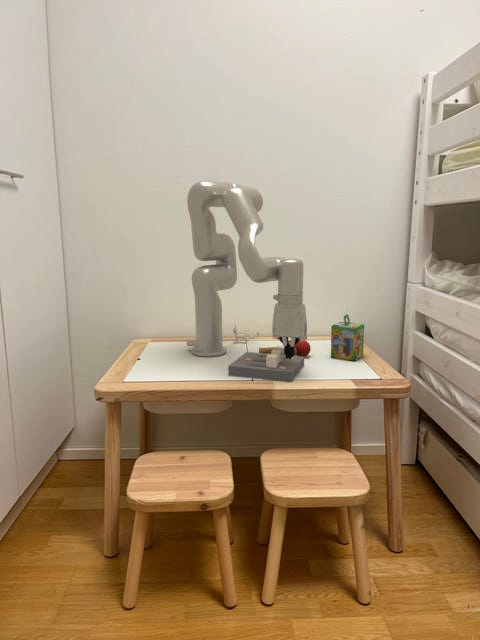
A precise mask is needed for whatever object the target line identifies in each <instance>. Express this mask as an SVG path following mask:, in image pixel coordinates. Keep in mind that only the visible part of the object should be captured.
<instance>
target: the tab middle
mask: <svg viewBox="0 0 480 640" xmlns="http://www.w3.org/2000/svg"><path fill="white" fill-rule="evenodd" d="M271 354H276V355H278V363H281V362H282V350H272V351H271Z"/></svg>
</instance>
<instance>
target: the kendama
mask: <svg viewBox="0 0 480 640" xmlns="http://www.w3.org/2000/svg"><path fill="white" fill-rule="evenodd" d="M288 340H289V344H291V339H288ZM276 347H277V346H273V347H270V346H269V347H258V353H266V354H271V351H272V350H276ZM310 352H311V345H310V343H309V342H308V341H307V340H305V341H299V342H298V343H297V344H296V345H295V354H294V356H301V357H304V358H305V357H307V356H308V355H309V354H310Z"/></svg>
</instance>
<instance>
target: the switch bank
mask: <svg viewBox="0 0 480 640" xmlns="http://www.w3.org/2000/svg"><path fill="white" fill-rule="evenodd" d="M267 355H268V354H266V353H259V352H252V351H246V352H244V353H243V354H242V355H241V356H239V357H238V358H237V359H235V360H234V361H233V362H232V363H230V364H229V365H228V369H227V371H228V372H227V373H228V376H233V377H240V376H241V378H250V377H251V378H252V379H259V378H261V379H263V380H270V381H280V382H281V381H282V382H289V383H292V382H293V381H294V380H295V379H296V377H297V376H298V374H299V373H300V372H301V371H302V369H303V368H304V367H305V357H301V356H297V355H296V356H293V357H292V358H291V359H289V358H288V359H286V358H285V359H284V358H282V362H281V363H278V366H277V368H269V367H266V356H267Z"/></svg>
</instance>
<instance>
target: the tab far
mask: <svg viewBox="0 0 480 640" xmlns="http://www.w3.org/2000/svg"><path fill="white" fill-rule="evenodd" d="M275 347H276V350H282V358H284V359H285V358H286V355H284V346H283V345H276V346H275Z"/></svg>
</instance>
